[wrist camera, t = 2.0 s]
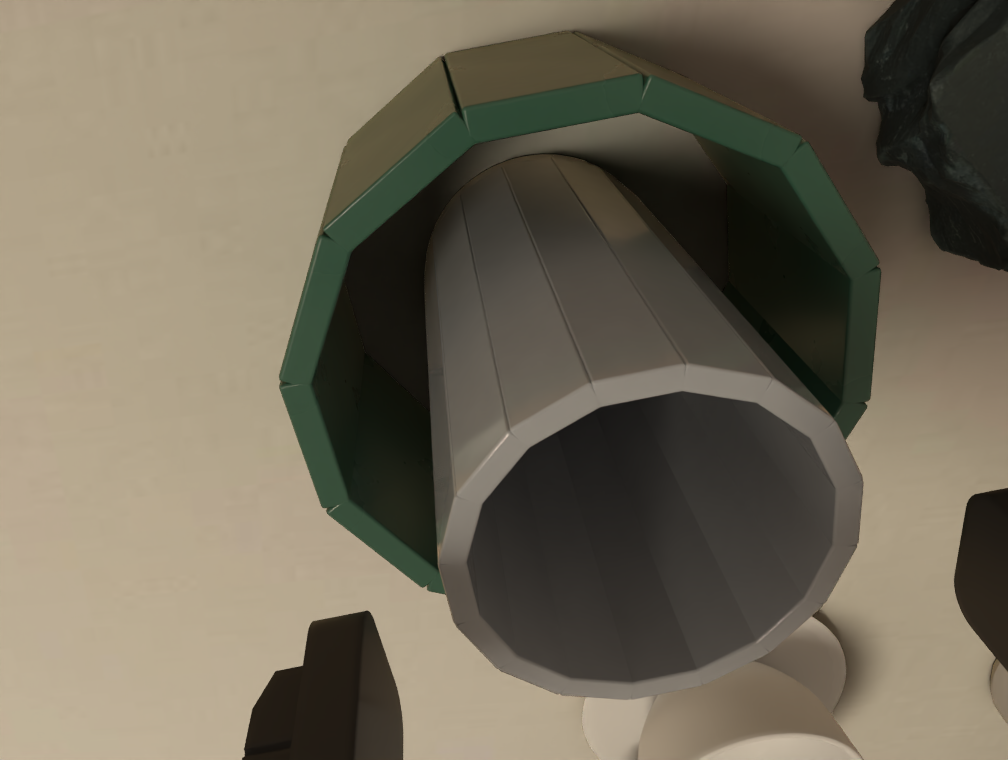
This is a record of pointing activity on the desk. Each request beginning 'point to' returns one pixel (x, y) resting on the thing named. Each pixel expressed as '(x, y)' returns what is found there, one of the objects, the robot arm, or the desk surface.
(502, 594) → the steel cup
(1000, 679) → the cup
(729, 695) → the teacup
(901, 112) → the stone
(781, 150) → the bucket
